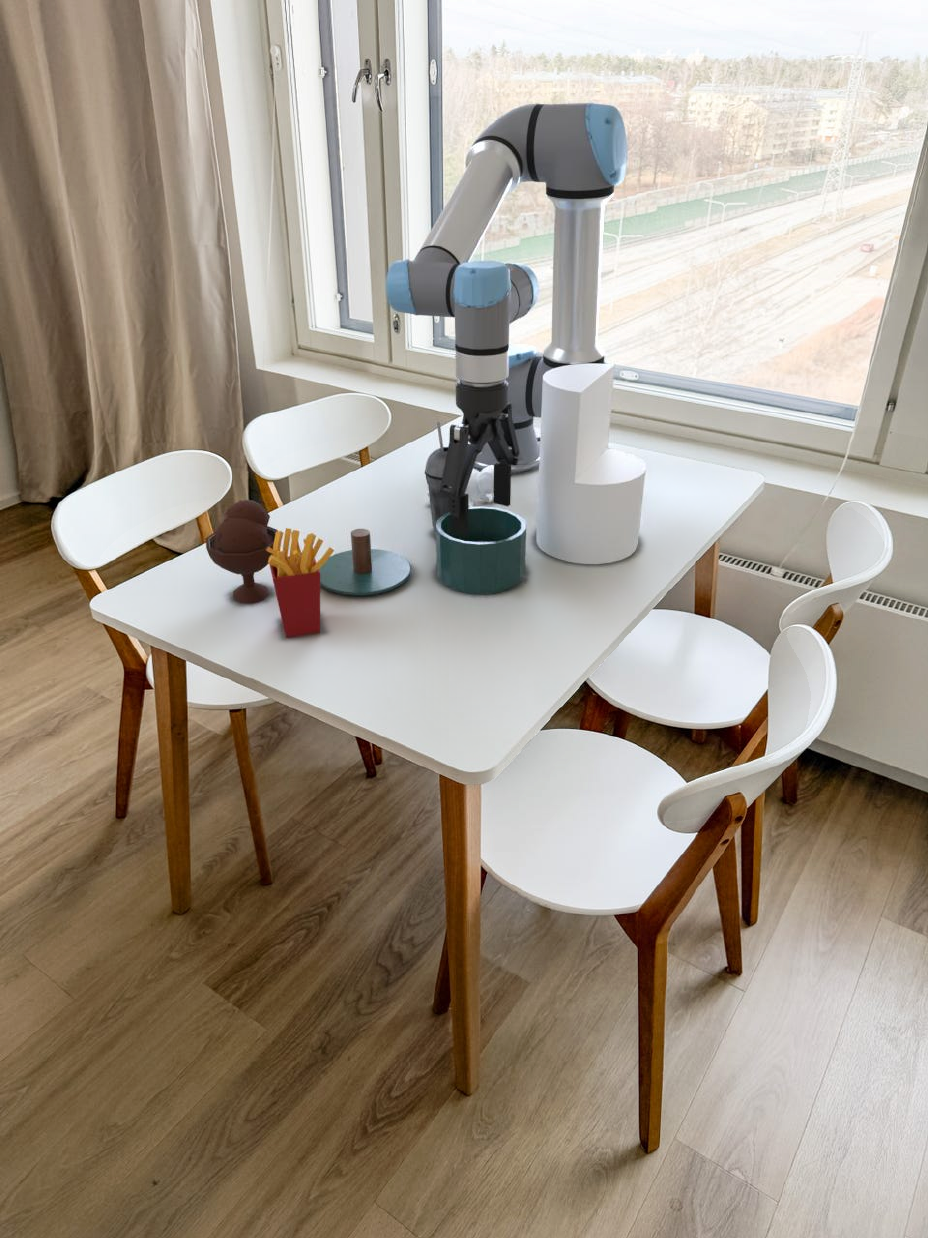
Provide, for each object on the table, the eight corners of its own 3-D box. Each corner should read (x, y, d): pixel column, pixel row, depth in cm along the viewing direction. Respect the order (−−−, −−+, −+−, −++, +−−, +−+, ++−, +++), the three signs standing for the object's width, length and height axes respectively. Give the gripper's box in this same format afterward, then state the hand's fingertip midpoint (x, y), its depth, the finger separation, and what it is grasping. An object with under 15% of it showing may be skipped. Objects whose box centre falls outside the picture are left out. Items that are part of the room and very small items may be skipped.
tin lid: (355, 547, 148) (352, 505, 145) (428, 568, 142) (427, 525, 138) (296, 583, 138) (291, 539, 134) (372, 608, 131) (369, 562, 127)
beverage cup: (463, 544, 149) (462, 430, 139) (421, 541, 150) (418, 428, 140) (471, 526, 155) (471, 416, 145) (431, 523, 157) (428, 414, 146)
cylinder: (520, 552, 147) (526, 385, 132) (556, 513, 160) (564, 358, 146) (620, 572, 140) (637, 399, 126) (649, 530, 154) (667, 370, 139)
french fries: (279, 642, 123) (267, 545, 115) (273, 613, 129) (261, 520, 122) (342, 632, 125) (333, 537, 117) (332, 605, 132) (324, 513, 124)
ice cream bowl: (224, 577, 139) (209, 489, 132) (293, 578, 139) (283, 490, 131) (204, 611, 130) (188, 518, 122) (279, 612, 130) (267, 519, 122)
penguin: (433, 524, 163) (501, 511, 155) (417, 481, 160) (486, 465, 152) (455, 508, 170) (521, 494, 161) (440, 466, 167) (507, 450, 159)
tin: (465, 546, 149) (465, 499, 144) (540, 566, 142) (542, 518, 138) (419, 579, 138) (417, 530, 134) (497, 603, 132) (498, 552, 128)
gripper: (501, 356, 135) (499, 487, 146) (411, 397, 117) (417, 542, 128) (544, 363, 131) (539, 496, 143) (458, 406, 114) (460, 554, 125)
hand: (481, 518), depth 136 cm, fingers open, 12 cm apart
